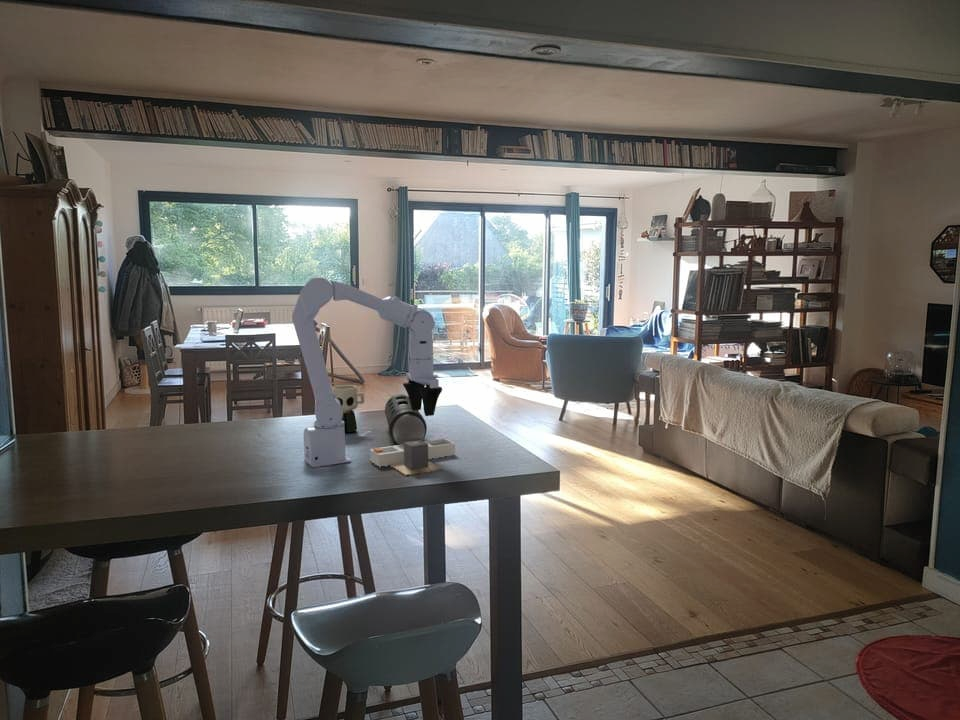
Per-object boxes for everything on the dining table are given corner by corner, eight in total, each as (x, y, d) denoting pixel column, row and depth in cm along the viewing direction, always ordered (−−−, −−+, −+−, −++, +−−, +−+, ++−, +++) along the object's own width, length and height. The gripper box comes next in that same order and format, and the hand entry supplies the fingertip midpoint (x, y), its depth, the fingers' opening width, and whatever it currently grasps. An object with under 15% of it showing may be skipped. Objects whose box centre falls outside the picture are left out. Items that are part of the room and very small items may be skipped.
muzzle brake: (417, 427, 200) (416, 392, 199) (428, 451, 173) (427, 411, 172) (384, 429, 198) (383, 394, 197) (390, 454, 171) (389, 413, 170)
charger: (411, 469, 155) (411, 446, 155) (404, 465, 159) (403, 442, 158) (428, 467, 157) (427, 443, 157) (420, 462, 161) (420, 439, 160)
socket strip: (379, 467, 159) (378, 452, 159) (370, 461, 164) (369, 446, 164) (455, 455, 169) (455, 440, 168) (444, 449, 174) (444, 435, 174)
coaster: (405, 476, 152) (405, 474, 152) (390, 466, 160) (390, 464, 160) (441, 469, 157) (441, 468, 157) (424, 460, 164) (424, 459, 164)
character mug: (326, 435, 190) (324, 390, 189) (326, 430, 197) (324, 385, 196) (365, 433, 192) (364, 388, 191) (365, 428, 199) (363, 384, 198)
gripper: (449, 360, 163) (450, 416, 165) (423, 354, 176) (425, 406, 178) (422, 362, 160) (424, 419, 162) (398, 356, 172) (399, 409, 174)
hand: (422, 412), depth 169 cm, fingers open, 7 cm apart
